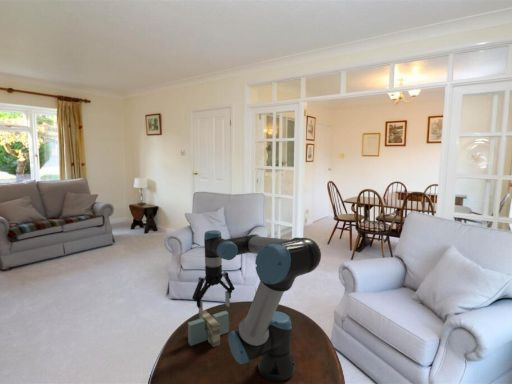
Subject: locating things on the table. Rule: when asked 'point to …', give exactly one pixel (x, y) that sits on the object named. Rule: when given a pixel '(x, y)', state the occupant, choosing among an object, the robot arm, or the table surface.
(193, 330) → the base plate
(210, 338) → the beige bar
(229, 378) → the table surface
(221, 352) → the table surface
